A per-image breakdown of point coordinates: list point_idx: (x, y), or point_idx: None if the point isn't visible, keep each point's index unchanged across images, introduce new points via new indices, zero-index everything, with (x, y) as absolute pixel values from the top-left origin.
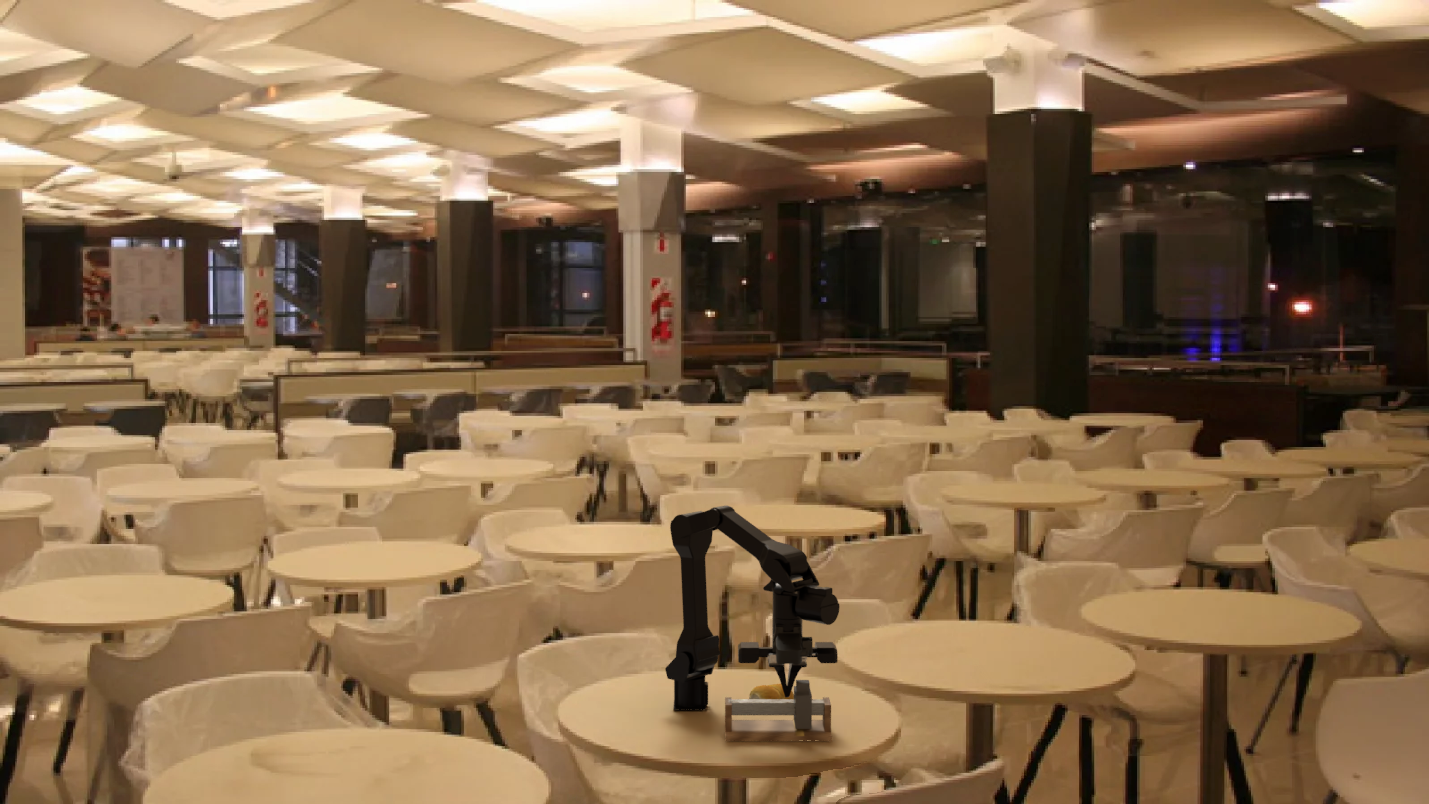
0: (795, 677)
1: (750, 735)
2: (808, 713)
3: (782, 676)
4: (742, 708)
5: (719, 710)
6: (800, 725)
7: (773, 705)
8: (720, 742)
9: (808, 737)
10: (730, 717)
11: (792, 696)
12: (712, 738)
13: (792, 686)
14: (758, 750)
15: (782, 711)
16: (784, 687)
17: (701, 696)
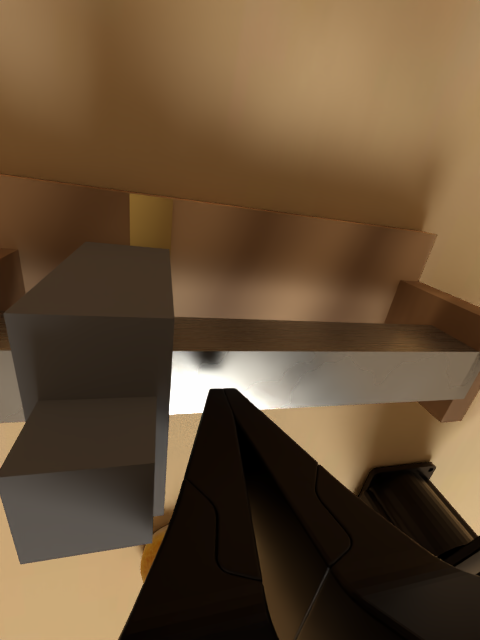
0: (173, 525)
1: (356, 230)
2: (84, 263)
3: (334, 512)
4: (418, 337)
5: (338, 475)
6: (144, 250)
7: (292, 344)
8: (440, 222)
9: (108, 190)
10: (448, 298)
11: (146, 561)
12: (443, 266)
13: (197, 439)
14: (354, 88)
15: (236, 327)
16: (262, 429)
17: (393, 507)
